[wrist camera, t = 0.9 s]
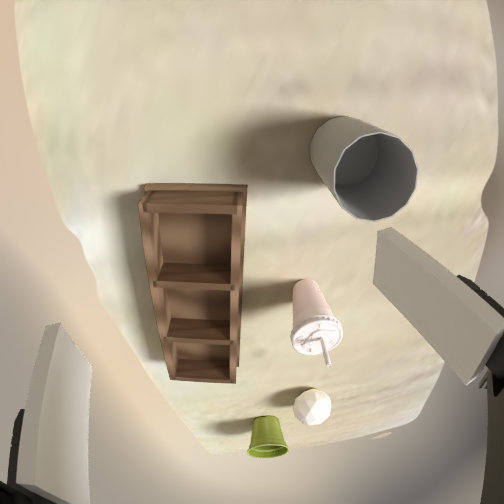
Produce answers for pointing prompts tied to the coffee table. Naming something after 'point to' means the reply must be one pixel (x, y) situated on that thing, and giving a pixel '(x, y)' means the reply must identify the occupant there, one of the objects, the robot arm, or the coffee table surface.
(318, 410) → the geometric ball
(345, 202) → the cup
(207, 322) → the caddy
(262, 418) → the plant pot
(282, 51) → the coffee table surface
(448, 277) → the robot arm
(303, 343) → the smoothie
